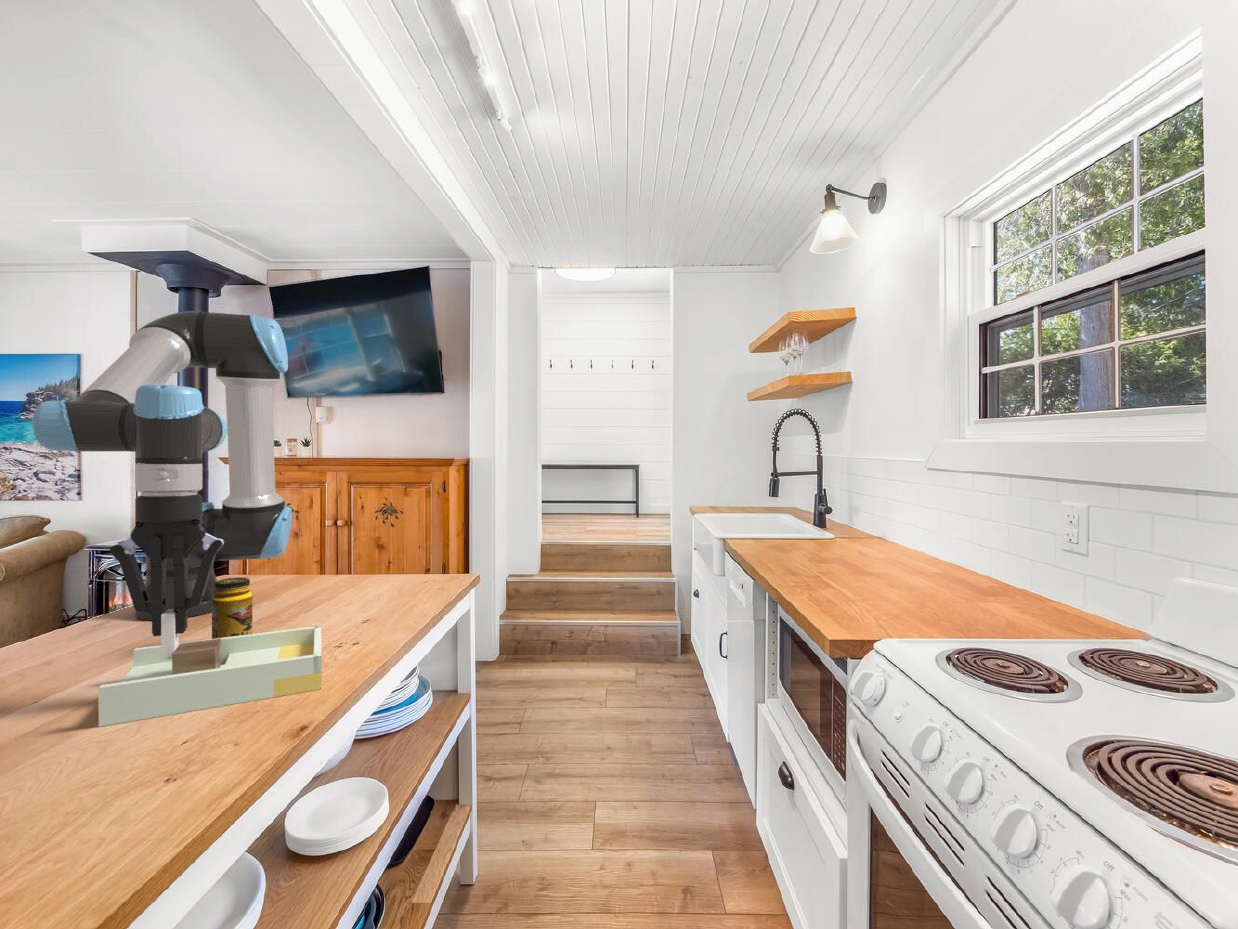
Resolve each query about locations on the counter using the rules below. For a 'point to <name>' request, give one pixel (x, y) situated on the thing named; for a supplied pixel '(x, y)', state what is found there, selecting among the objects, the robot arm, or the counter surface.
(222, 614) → the condiment
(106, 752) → the counter surface
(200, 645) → the block
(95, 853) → the counter surface
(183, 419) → the robot arm
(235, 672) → the box
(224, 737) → the counter surface
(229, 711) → the counter surface
